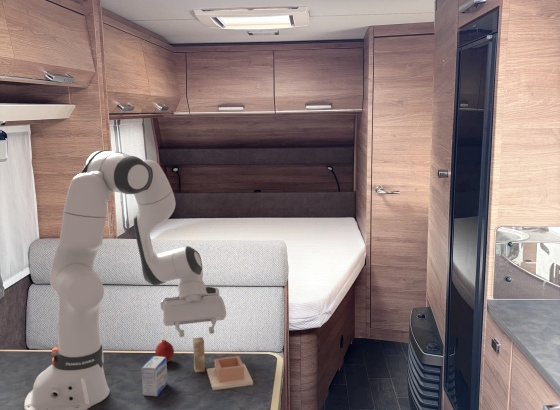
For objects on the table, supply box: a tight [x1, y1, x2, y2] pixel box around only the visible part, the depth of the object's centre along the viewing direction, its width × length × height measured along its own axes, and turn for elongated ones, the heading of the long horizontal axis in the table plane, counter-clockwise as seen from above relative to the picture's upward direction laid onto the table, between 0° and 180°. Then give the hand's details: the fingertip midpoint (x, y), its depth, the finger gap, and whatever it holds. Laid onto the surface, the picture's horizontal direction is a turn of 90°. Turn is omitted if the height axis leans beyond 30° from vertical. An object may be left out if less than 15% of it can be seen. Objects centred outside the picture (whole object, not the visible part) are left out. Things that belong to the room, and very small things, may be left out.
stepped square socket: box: [206, 355, 254, 391], centre depth 171 cm, size 12×12×5 cm
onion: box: [154, 338, 175, 363], centre depth 181 cm, size 6×6×8 cm
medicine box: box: [141, 355, 168, 397], centre depth 164 cm, size 8×4×9 cm, turn 168°
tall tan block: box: [192, 336, 206, 373], centre depth 176 cm, size 3×3×10 cm
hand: (197, 334), depth 179 cm, fingers open, 8 cm apart
